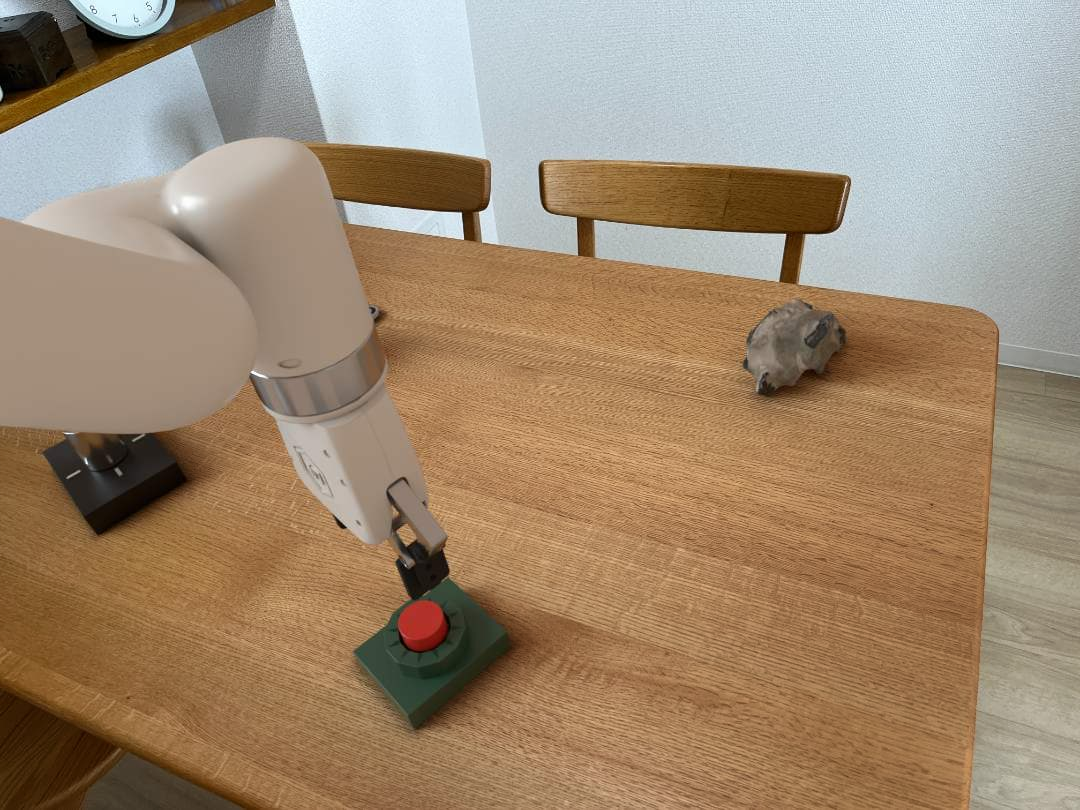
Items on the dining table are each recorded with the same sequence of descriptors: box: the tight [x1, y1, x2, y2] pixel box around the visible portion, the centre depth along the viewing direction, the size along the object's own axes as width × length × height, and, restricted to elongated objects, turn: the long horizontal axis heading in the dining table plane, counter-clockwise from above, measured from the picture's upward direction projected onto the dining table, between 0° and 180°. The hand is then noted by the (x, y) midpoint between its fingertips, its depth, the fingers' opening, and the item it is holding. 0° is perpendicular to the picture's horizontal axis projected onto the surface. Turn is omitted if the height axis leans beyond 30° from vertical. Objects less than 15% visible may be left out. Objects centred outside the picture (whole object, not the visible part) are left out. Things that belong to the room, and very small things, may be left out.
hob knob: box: [60, 431, 128, 471], centre depth 85 cm, size 4×4×6 cm
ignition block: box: [352, 576, 512, 731], centre depth 66 cm, size 10×8×4 cm
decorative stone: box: [741, 298, 847, 397], centre depth 85 cm, size 16×9×10 cm, turn 149°
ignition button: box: [398, 601, 447, 652], centre depth 64 cm, size 4×4×2 cm
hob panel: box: [41, 432, 188, 536], centre depth 88 cm, size 14×10×3 cm
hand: (392, 549), depth 58 cm, fingers open, 8 cm apart
